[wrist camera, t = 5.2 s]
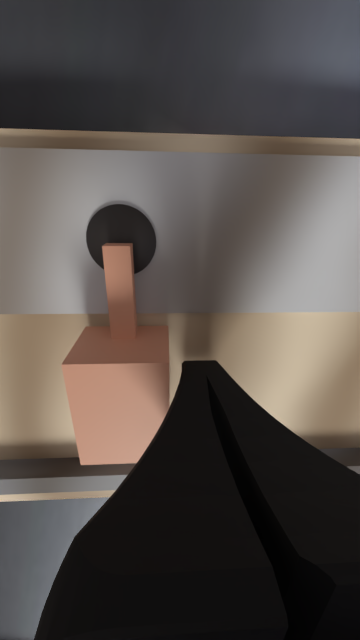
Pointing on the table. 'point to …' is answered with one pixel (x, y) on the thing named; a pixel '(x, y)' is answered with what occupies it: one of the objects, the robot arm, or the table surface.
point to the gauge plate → (178, 281)
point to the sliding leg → (117, 373)
